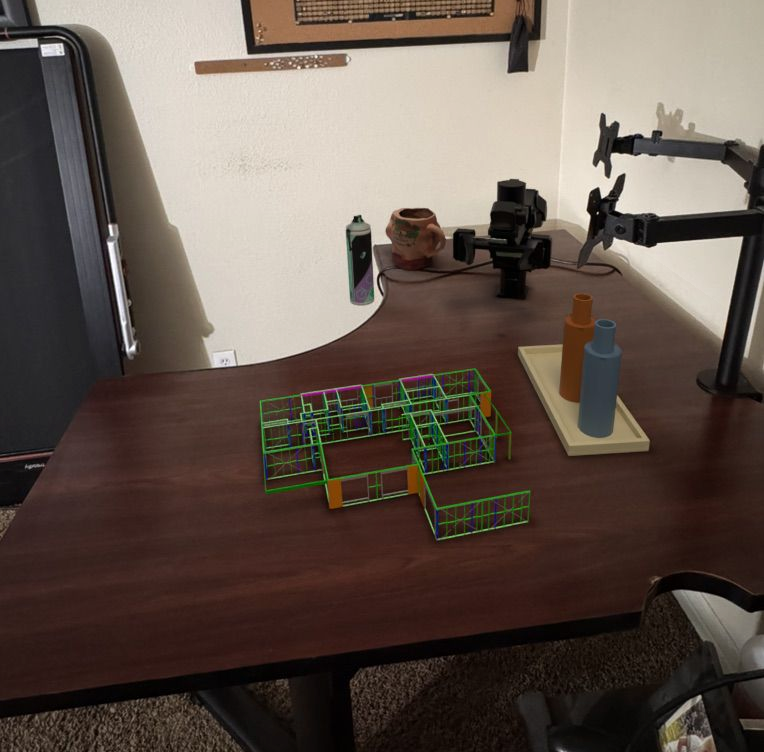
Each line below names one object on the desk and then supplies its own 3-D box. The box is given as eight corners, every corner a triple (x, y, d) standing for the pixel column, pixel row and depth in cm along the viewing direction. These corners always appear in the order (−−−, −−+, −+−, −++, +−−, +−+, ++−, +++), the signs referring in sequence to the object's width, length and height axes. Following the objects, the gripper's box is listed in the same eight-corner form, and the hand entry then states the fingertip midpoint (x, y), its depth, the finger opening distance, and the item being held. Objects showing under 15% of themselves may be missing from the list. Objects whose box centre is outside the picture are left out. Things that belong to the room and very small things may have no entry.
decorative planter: (463, 267, 157) (464, 214, 152) (431, 282, 149) (430, 226, 144) (405, 250, 170) (404, 200, 166) (373, 262, 163) (370, 211, 158)
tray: (517, 355, 116) (518, 346, 115) (579, 351, 116) (580, 343, 116) (568, 456, 89) (569, 445, 89) (648, 451, 90) (650, 440, 89)
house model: (473, 390, 106) (473, 365, 104) (554, 516, 79) (556, 486, 77) (262, 423, 99) (259, 397, 98) (272, 573, 72) (268, 541, 70)
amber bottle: (559, 386, 106) (566, 289, 99) (590, 390, 104) (600, 291, 98) (558, 403, 101) (565, 302, 95) (590, 407, 100) (600, 305, 94)
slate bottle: (577, 418, 97) (586, 314, 91) (612, 423, 96) (623, 317, 90) (577, 438, 93) (586, 329, 87) (613, 443, 91) (625, 333, 85)
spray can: (365, 307, 137) (361, 220, 130) (345, 302, 140) (339, 217, 133) (379, 298, 142) (375, 213, 135) (358, 293, 145) (354, 210, 138)
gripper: (462, 194, 128) (442, 219, 114) (557, 199, 121) (548, 226, 108) (462, 245, 132) (443, 275, 118) (554, 253, 126) (545, 285, 112)
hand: (493, 264), depth 114 cm, fingers open, 9 cm apart
